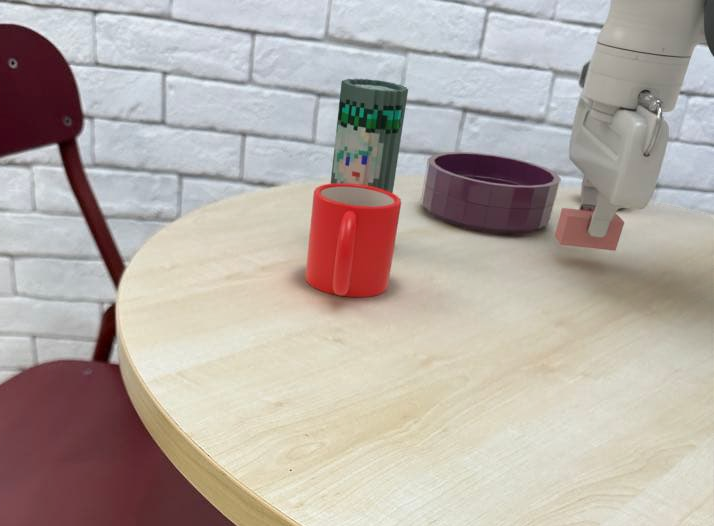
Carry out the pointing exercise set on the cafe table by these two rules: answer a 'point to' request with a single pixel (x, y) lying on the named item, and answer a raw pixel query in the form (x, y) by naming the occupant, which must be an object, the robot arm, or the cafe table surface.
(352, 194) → the mug
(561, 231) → the eraser
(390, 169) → the can
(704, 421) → the cafe table surface
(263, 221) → the cafe table surface
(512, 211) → the bowl
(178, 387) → the cafe table surface
